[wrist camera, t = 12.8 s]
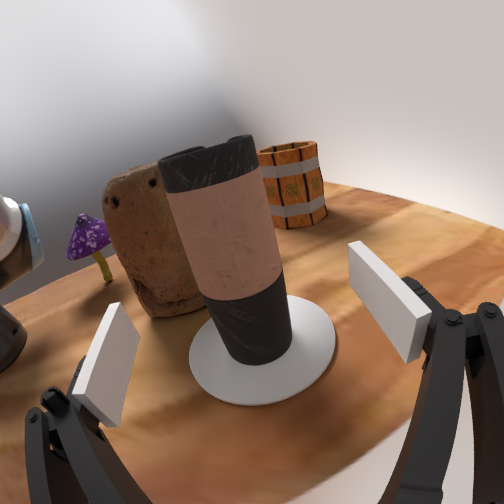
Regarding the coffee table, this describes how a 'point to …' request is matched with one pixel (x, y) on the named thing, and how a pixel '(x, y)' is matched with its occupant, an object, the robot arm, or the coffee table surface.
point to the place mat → (272, 374)
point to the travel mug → (231, 245)
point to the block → (149, 242)
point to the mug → (293, 184)
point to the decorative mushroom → (89, 242)
